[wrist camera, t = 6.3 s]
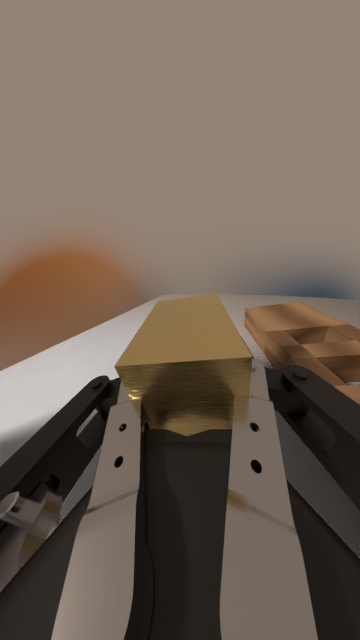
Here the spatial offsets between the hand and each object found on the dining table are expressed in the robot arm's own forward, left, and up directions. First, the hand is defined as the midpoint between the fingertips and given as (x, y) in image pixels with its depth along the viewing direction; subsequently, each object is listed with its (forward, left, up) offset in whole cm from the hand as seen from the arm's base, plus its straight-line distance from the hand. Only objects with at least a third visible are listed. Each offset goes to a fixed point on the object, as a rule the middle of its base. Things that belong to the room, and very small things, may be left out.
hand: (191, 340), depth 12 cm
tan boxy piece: (0, -3, -8) cm, 8 cm away
